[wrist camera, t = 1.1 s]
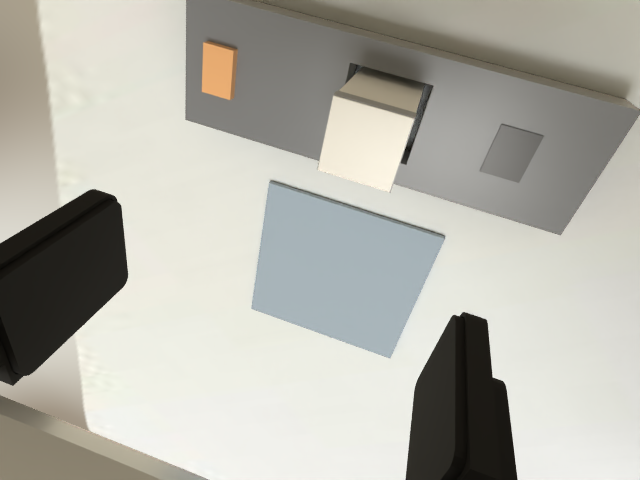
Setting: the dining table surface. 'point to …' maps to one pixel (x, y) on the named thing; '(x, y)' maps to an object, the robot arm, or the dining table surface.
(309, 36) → the power strip
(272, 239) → the slate mat
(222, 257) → the dining table surface
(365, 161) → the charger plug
